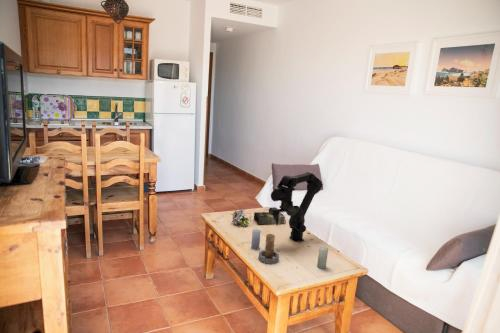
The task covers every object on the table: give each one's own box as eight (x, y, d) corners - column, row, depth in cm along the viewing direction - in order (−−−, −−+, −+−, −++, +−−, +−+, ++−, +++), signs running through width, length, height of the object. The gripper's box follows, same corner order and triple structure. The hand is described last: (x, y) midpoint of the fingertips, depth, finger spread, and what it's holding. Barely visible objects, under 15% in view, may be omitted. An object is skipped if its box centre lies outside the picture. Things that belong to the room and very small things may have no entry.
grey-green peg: (322, 264, 179) (324, 246, 177) (327, 268, 176) (329, 250, 173) (315, 265, 178) (317, 247, 176) (320, 269, 174) (322, 251, 172)
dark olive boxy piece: (281, 219, 240) (281, 210, 239) (286, 224, 231) (287, 216, 230) (253, 220, 235) (253, 211, 233) (257, 226, 226) (258, 217, 224)
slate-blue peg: (257, 245, 196) (258, 229, 194) (260, 249, 192) (261, 232, 190) (250, 246, 194) (251, 229, 192) (253, 249, 190) (254, 232, 188)
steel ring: (272, 253, 188) (273, 249, 187) (282, 262, 178) (282, 257, 178) (255, 255, 183) (255, 251, 183) (263, 265, 174) (264, 260, 174)
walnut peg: (272, 257, 183) (274, 234, 180) (273, 261, 179) (275, 237, 176) (264, 256, 183) (266, 233, 180) (264, 260, 179) (266, 237, 176)
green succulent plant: (234, 231, 226) (228, 214, 229) (248, 227, 230) (242, 210, 233) (239, 228, 216) (232, 210, 219) (254, 223, 220) (248, 205, 223)
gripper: (278, 204, 183) (276, 231, 186) (308, 202, 190) (305, 228, 194) (269, 197, 193) (266, 224, 196) (298, 195, 200) (295, 221, 204)
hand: (284, 224), depth 197 cm, fingers open, 9 cm apart
